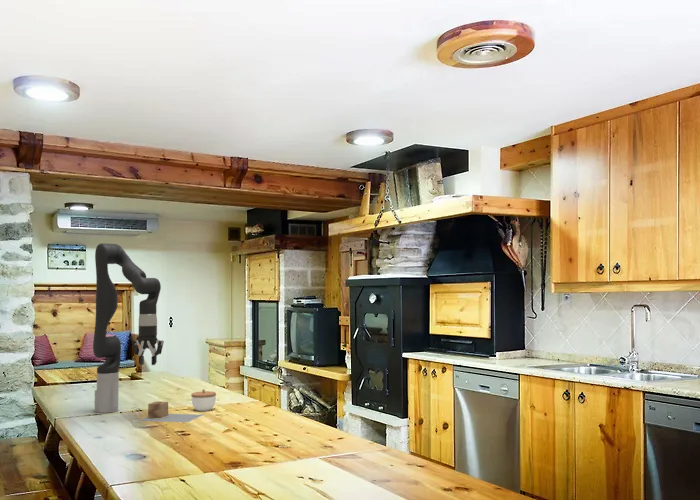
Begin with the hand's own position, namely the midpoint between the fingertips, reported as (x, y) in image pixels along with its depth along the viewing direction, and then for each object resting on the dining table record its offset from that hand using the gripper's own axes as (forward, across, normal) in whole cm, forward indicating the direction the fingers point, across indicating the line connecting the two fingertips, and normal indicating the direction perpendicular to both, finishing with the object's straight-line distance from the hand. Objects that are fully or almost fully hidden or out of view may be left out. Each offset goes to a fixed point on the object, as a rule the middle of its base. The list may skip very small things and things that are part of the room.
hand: (147, 364), depth 279 cm
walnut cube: (+22, +5, 0) cm, 23 cm away
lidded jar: (+23, +17, +19) cm, 34 cm away
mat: (+22, +11, 0) cm, 25 cm away
